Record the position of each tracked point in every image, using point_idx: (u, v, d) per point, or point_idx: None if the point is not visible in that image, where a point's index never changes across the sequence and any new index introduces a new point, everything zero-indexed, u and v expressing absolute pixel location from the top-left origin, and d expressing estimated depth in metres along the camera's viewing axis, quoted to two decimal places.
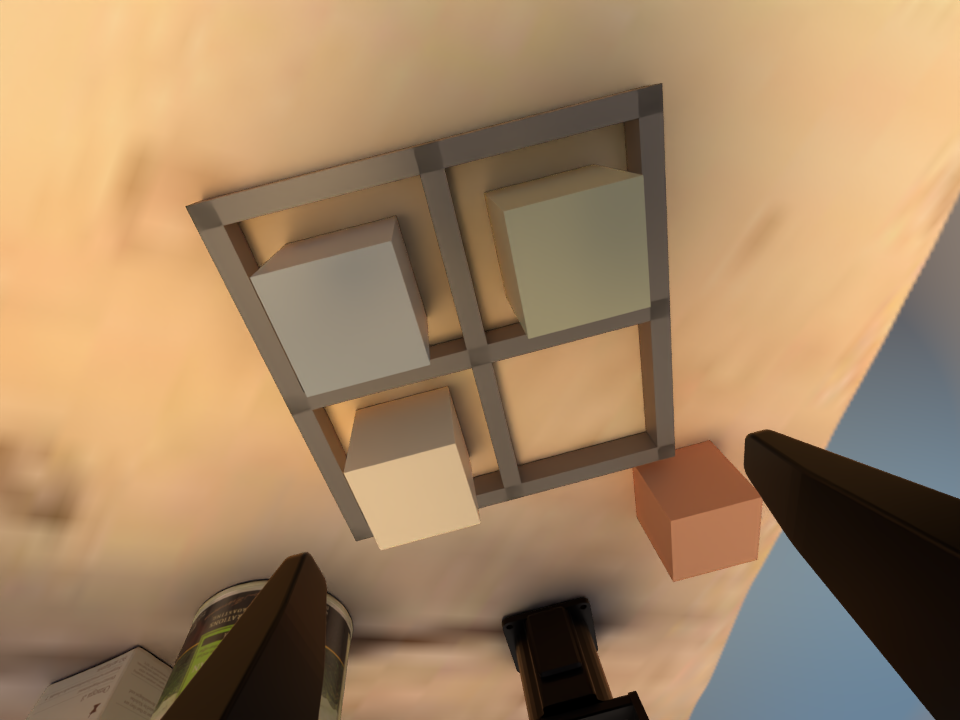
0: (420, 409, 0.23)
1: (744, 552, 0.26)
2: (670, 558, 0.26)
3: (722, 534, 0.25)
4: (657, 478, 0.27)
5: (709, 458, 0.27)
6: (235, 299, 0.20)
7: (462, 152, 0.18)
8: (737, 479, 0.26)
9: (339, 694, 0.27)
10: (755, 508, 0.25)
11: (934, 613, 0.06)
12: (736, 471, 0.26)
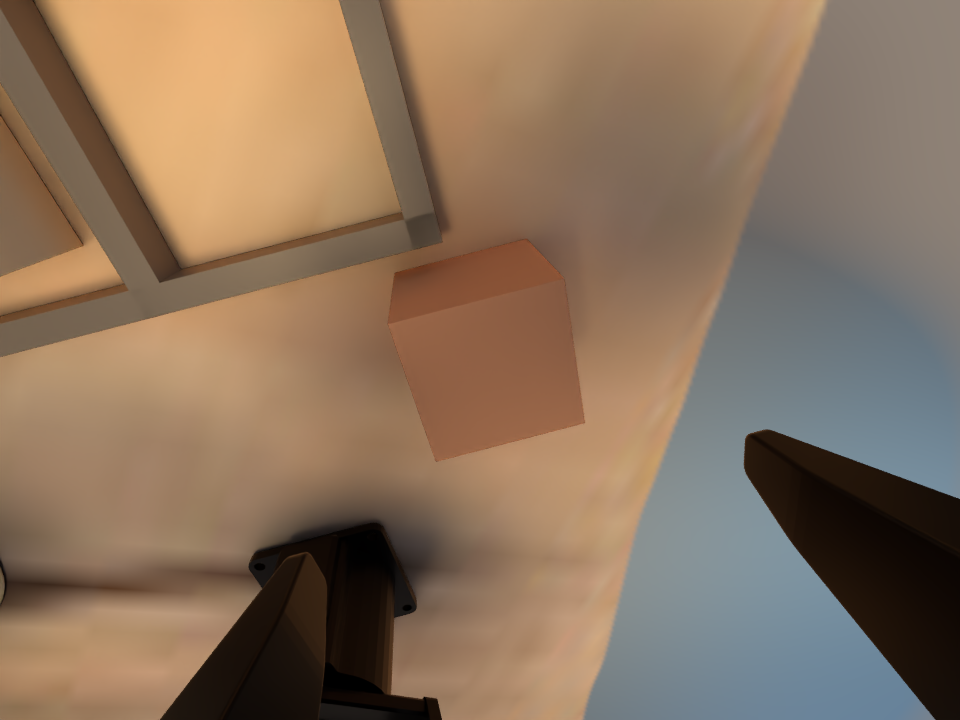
0: None
1: (556, 406, 0.15)
2: (420, 414, 0.14)
3: (503, 362, 0.14)
4: (414, 283, 0.15)
5: (510, 254, 0.16)
6: None
7: None
8: (537, 266, 0.14)
9: None
10: (555, 306, 0.13)
11: (934, 613, 0.06)
12: (542, 260, 0.15)
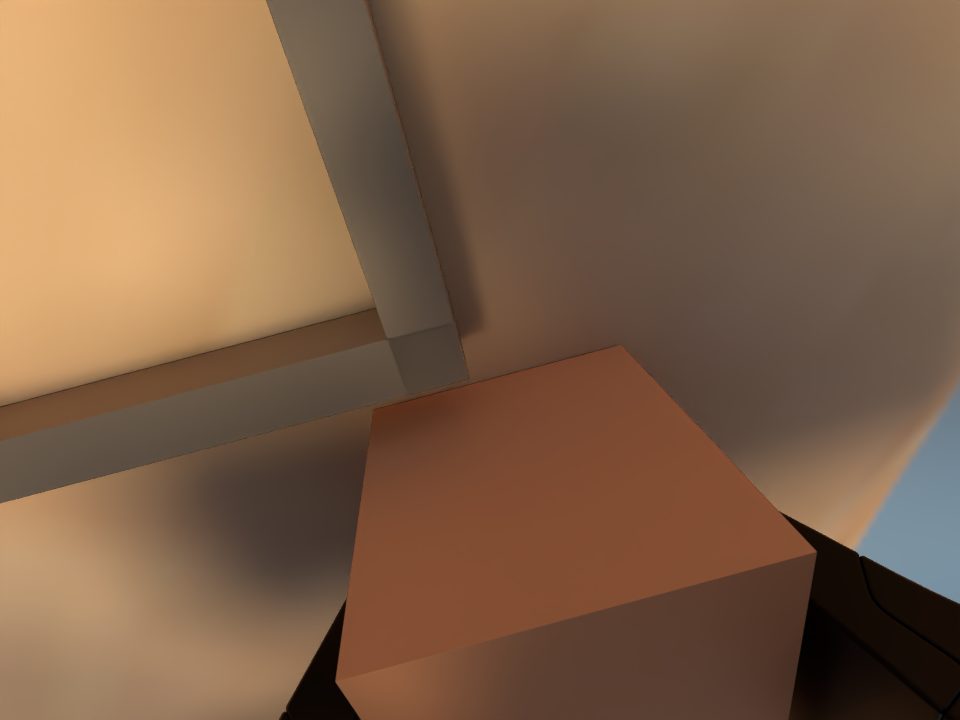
0: None
1: None
2: None
3: (626, 713, 0.06)
4: (409, 466, 0.07)
5: (606, 395, 0.08)
6: None
7: None
8: (697, 465, 0.06)
9: None
10: (777, 605, 0.05)
11: None
12: (695, 434, 0.07)
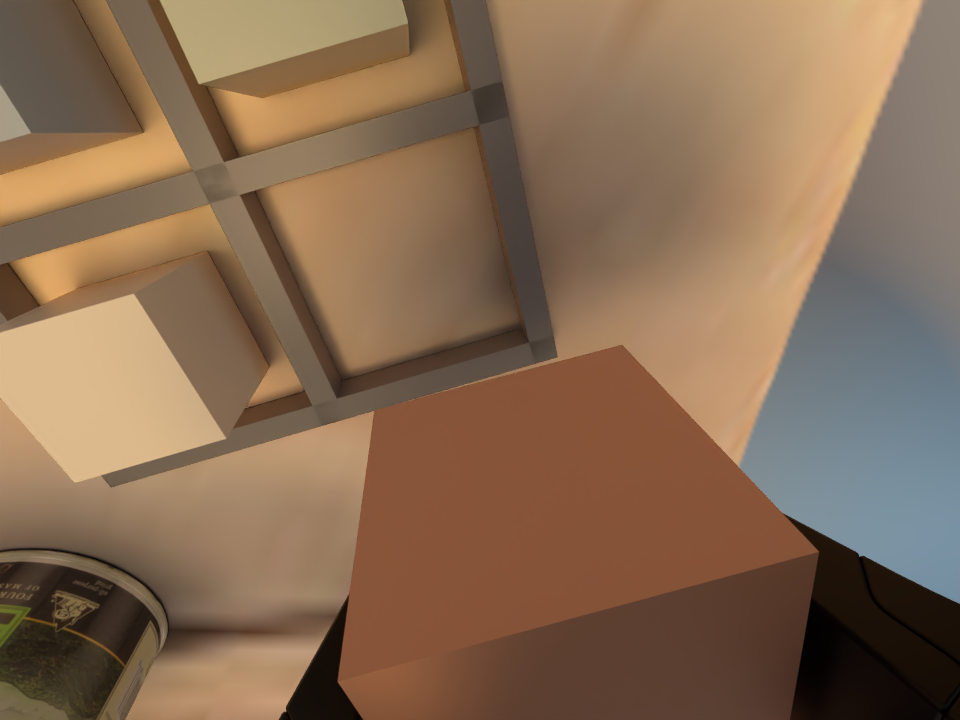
0: (145, 274, 0.16)
1: None
2: None
3: (628, 712, 0.06)
4: (410, 465, 0.07)
5: (608, 395, 0.08)
6: None
7: None
8: (699, 465, 0.06)
9: (101, 704, 0.20)
10: (779, 605, 0.05)
11: None
12: (697, 434, 0.07)
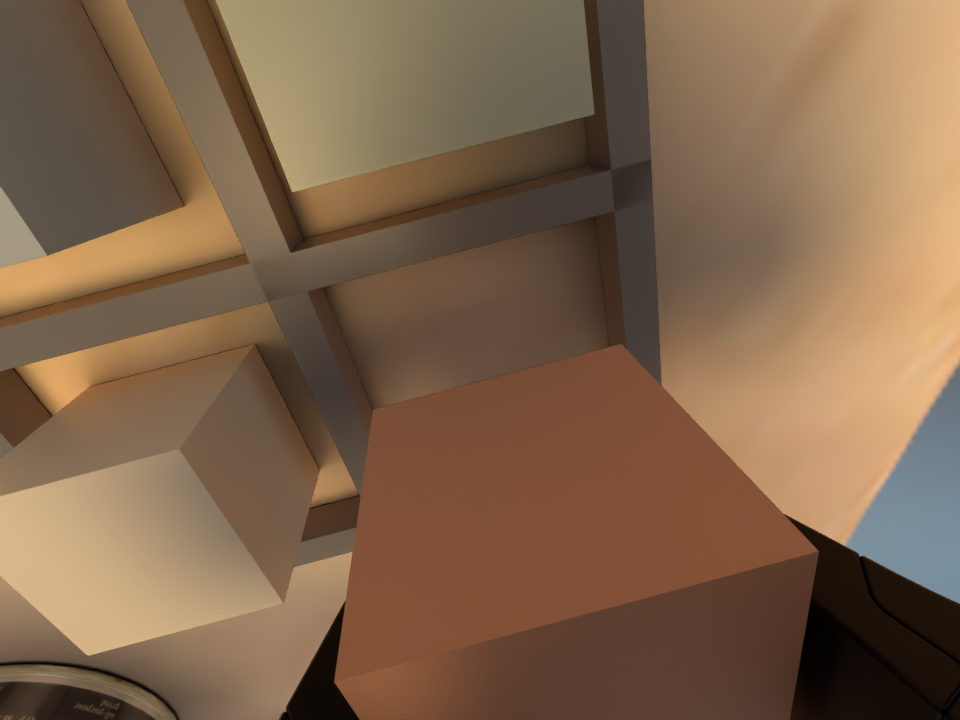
0: (181, 383, 0.12)
1: None
2: None
3: (626, 713, 0.06)
4: (408, 464, 0.07)
5: (607, 394, 0.08)
6: None
7: None
8: (698, 464, 0.06)
9: None
10: (779, 605, 0.05)
11: None
12: (696, 433, 0.06)
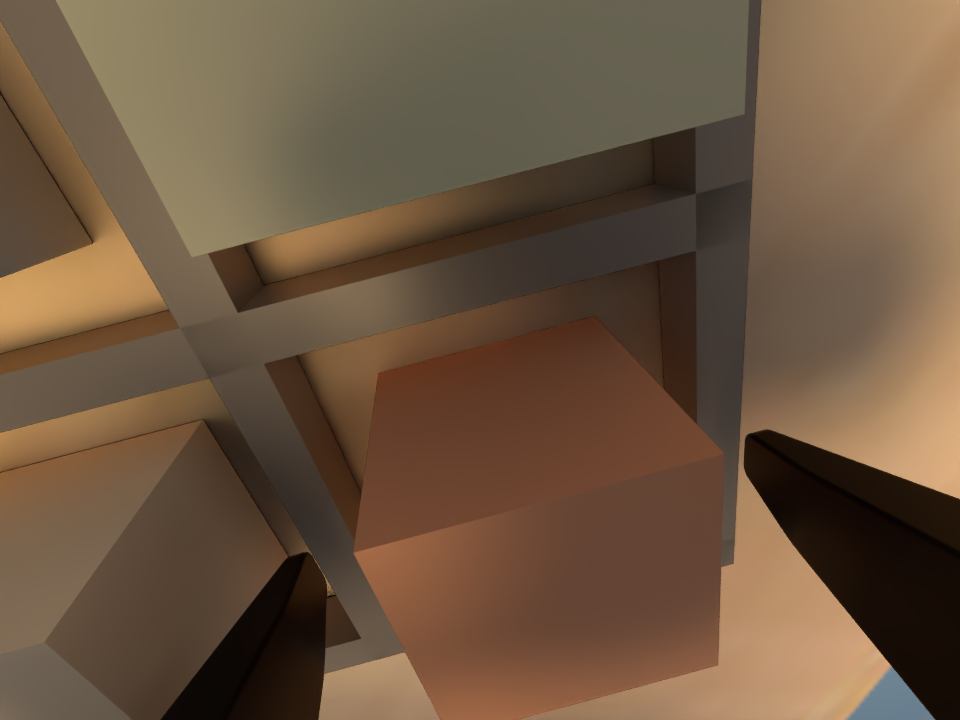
0: (93, 485, 0.09)
1: (673, 647, 0.08)
2: (422, 672, 0.08)
3: (583, 595, 0.07)
4: (410, 410, 0.09)
5: (577, 353, 0.09)
6: None
7: None
8: (644, 400, 0.07)
9: None
10: (698, 501, 0.06)
11: (934, 613, 0.06)
12: (645, 379, 0.08)
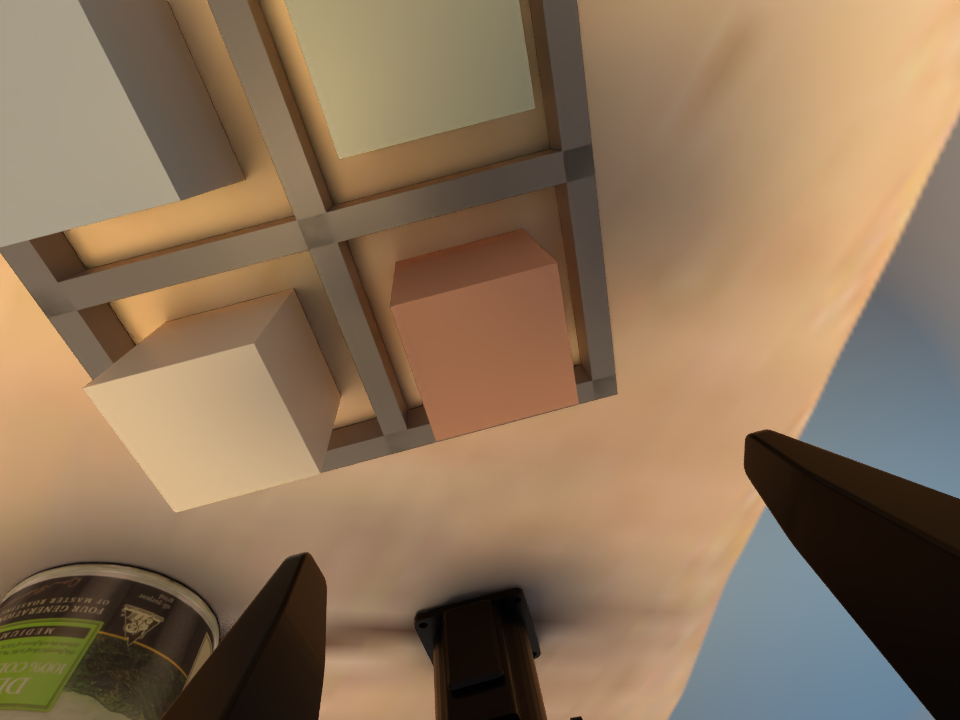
0: (241, 313, 0.16)
1: (551, 386, 0.15)
2: (421, 395, 0.15)
3: (499, 344, 0.14)
4: (414, 271, 0.16)
5: (507, 242, 0.17)
6: None
7: None
8: (531, 253, 0.15)
9: None
10: (549, 289, 0.14)
11: (934, 613, 0.06)
12: (536, 247, 0.15)
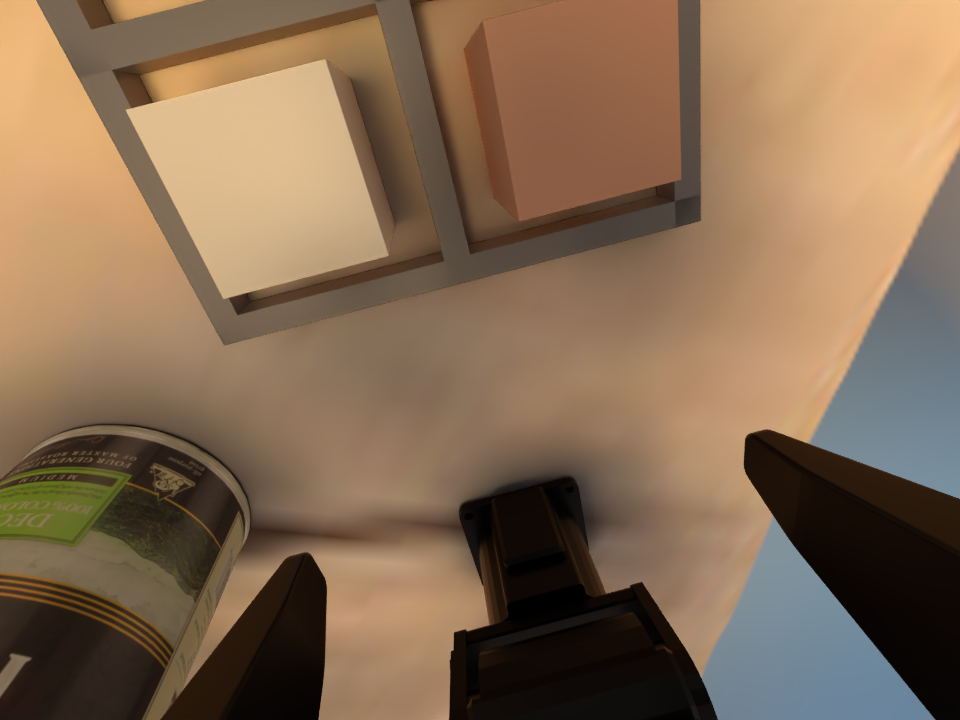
0: None
1: (653, 153, 0.13)
2: (506, 159, 0.13)
3: (602, 86, 0.13)
4: None
5: None
6: None
7: None
8: None
9: (204, 579, 0.19)
10: (664, 10, 0.12)
11: (934, 613, 0.06)
12: None
